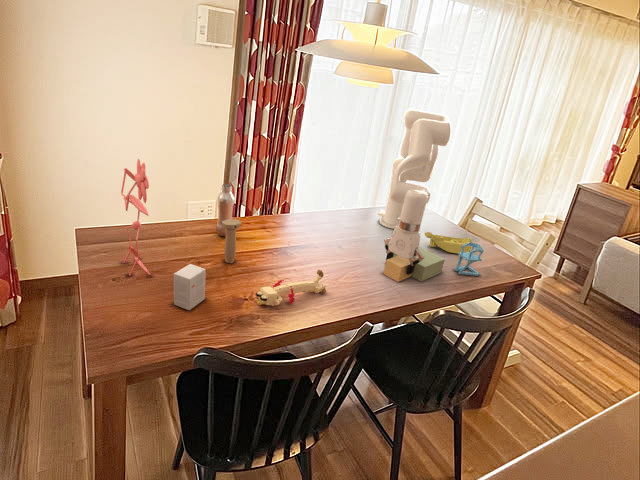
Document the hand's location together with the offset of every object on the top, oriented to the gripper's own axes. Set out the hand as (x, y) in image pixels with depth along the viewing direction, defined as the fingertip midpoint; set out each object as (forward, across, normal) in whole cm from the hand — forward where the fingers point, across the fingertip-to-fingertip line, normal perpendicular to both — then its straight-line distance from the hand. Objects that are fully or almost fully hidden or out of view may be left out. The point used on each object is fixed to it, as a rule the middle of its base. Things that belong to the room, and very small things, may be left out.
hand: (398, 268), depth 177 cm
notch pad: (+3, 0, +11) cm, 12 cm away
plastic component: (+3, -5, +42) cm, 43 cm away
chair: (+3, +13, +28) cm, 31 cm away
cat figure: (+3, -9, -46) cm, 47 cm away
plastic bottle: (+3, -59, -36) cm, 69 cm away
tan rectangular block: (+3, 0, +2) cm, 3 cm away
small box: (+3, -23, -74) cm, 77 cm away
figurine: (+3, -48, -73) cm, 88 cm away
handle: (+3, -39, -48) cm, 62 cm away
